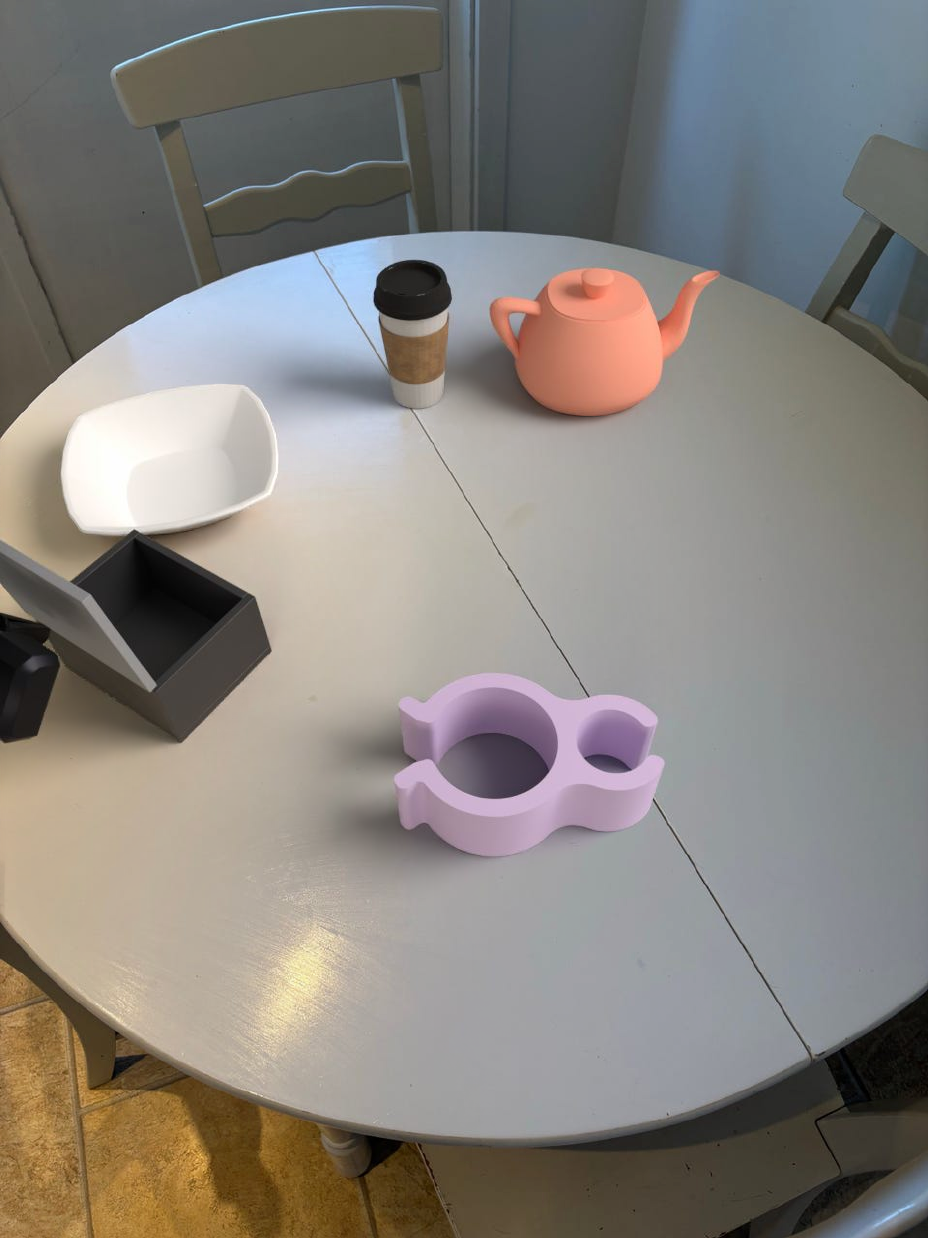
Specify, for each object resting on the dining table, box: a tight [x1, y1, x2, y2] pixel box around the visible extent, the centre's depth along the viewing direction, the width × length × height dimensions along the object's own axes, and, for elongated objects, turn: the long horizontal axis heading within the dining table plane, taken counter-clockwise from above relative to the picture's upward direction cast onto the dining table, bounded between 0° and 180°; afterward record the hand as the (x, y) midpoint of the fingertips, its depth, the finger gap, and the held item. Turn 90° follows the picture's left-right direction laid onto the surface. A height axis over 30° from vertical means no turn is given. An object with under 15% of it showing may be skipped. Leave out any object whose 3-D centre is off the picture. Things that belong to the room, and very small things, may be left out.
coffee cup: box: [372, 259, 453, 410], centre depth 98 cm, size 8×8×15 cm
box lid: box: [0, 539, 157, 692], centre depth 66 cm, size 12×15×1 cm
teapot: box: [489, 267, 721, 417], centre depth 100 cm, size 25×17×13 cm
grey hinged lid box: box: [35, 529, 272, 744], centre depth 78 cm, size 12×15×8 cm
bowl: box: [59, 383, 280, 537], centre depth 92 cm, size 22×22×5 cm
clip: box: [393, 672, 666, 858], centre depth 70 cm, size 20×12×7 cm, turn 90°
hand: (46, 632), depth 67 cm, fingers closed
